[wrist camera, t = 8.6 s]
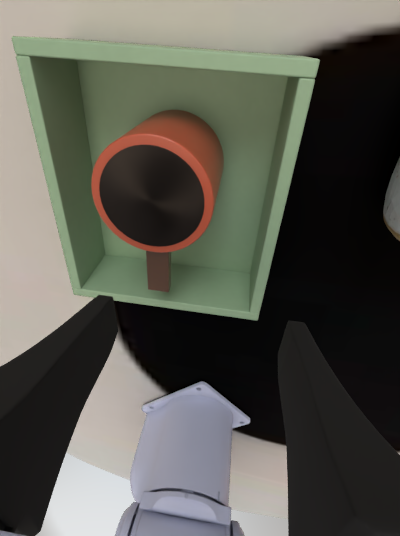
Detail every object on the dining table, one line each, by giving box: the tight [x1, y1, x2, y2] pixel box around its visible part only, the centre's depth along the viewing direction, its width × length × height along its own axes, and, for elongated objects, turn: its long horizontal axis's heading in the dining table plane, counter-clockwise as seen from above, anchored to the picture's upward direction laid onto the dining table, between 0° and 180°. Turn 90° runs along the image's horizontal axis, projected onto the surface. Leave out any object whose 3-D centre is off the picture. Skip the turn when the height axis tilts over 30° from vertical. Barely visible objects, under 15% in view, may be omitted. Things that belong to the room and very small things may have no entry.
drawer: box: [12, 36, 320, 320], centre depth 17 cm, size 13×12×4 cm
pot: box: [91, 110, 224, 292], centre depth 16 cm, size 8×5×6 cm, turn 177°
